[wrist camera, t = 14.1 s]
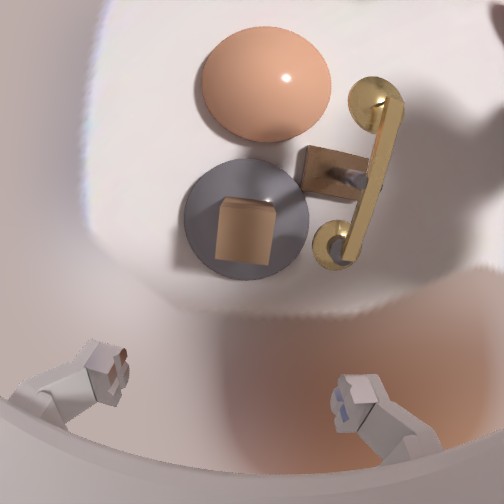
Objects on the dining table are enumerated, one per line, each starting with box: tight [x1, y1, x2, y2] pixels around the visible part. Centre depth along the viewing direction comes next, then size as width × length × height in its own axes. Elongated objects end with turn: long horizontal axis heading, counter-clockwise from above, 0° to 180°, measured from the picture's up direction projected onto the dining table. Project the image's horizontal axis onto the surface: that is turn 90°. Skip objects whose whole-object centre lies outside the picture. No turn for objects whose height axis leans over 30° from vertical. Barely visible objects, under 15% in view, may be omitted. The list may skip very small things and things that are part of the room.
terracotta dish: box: [202, 27, 331, 142], centre depth 27 cm, size 14×14×1 cm
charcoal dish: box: [184, 159, 309, 280], centre depth 32 cm, size 14×14×1 cm
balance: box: [301, 77, 404, 270], centre depth 25 cm, size 7×18×14 cm, turn 172°
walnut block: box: [215, 196, 276, 265], centre depth 29 cm, size 5×5×6 cm
